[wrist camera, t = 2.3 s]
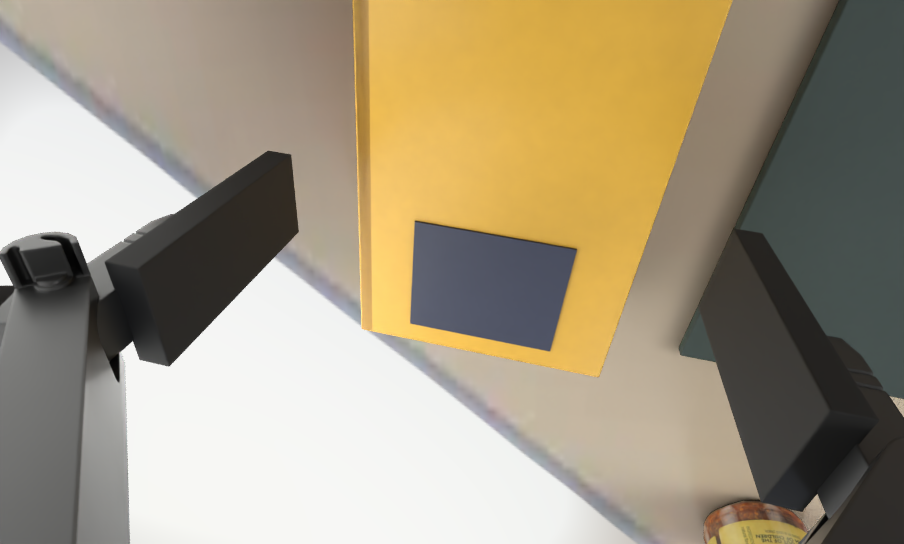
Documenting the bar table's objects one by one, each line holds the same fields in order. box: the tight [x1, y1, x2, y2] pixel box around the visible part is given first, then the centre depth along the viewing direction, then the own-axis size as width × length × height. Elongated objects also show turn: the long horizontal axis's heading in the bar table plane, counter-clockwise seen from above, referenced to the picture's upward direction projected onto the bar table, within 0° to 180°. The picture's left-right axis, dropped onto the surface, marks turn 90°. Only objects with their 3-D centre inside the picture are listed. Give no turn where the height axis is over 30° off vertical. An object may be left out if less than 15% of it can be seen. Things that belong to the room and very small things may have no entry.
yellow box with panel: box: [353, 0, 733, 377], centre depth 20 cm, size 16×10×6 cm, turn 175°
